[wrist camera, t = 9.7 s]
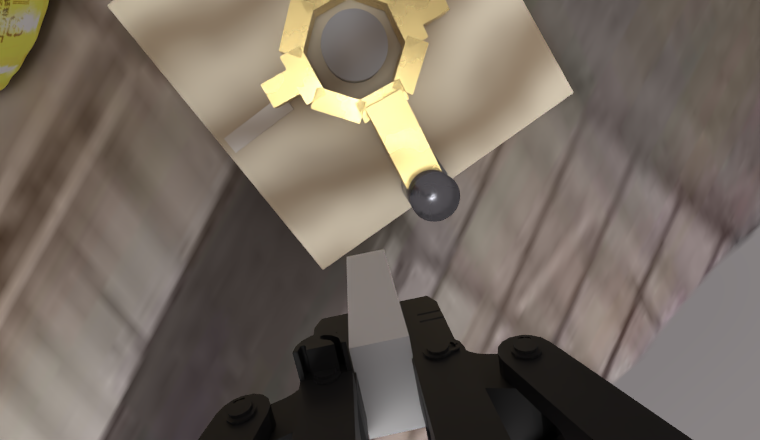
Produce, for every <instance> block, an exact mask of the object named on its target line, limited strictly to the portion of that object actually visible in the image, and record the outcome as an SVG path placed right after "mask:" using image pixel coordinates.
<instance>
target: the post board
mask: <svg viewBox="0 0 760 440" xmlns="http://www.w3.org/2000/svg"><path fill="white" fill-rule="evenodd" d="M446 2H447V4H448V7H449V9H450V10H449V11H448V12H447V13H446V14H445V15H443V16H442V17H440V18H438V19H436V20H435V21H433V22H431V23H429V24H427V25H426V26H424V28H425V30H426V33H427V35H428V38H427V39H426V40H425V42H428V43H429V44H428V47H427V51H426V54H425V57H424V60H423V64H422V67H421V70H420V73H419V77H418V80H417V83H416V86H415V89H414V93H413V95H408V97H409V99H408V100H407V102H408V104H409V106H410V108H411V110H412V112H413V114H414V116H415V118H416V120H417V122H418V124H419V126H420V128H421V130H422V132H423V134H424V136H425V138H426V140H427V142H428V144H429V146H430V148H431V150H432V152H433V154H434V156H435V158H436V160H437V162H438V164H439V166H440V168H441V171H442V172H444V173H445V174H447V175H448V176H450V177H451V178H454V177H455V176H456V175H458V174H459V173H461V172H462V171H464V170H465V169H466V168H468V167H469V166H471V165H472V164H473V163H475V162H476V161H478V160H479V159H480V158H482V157H483V156H485V155H486V154H488V153H489V152H490V151H492V150H493V149H495V148H496V147H497V146H499V145H500V144H502V143H503V142H505V141H506V140H507V139H509V138H510V137H512V136H513V135H514V134H516V133H517V132H519V131H520V130H522V129H523V128H524V127H526V126H527V125H529V124H530V123H531V122H533V121H534V120H536V119H537V118H539V117H540V116H541V115H543V114H544V113H546V112H547V111H548V110H550V109H551V108H553V107H554V106H555V105H557V104H558V103H560V102H561V101H563V100H564V99H565V98H567V97H568V96H570V95H571V94H572V93H574V92H573V91H572V89H571V87H570V85H569V83H568V82H567V80H566V78H565V76H564V74H563V72H562V71H561V69H560V67H559V65H558V63H557V62H556V60H555V58H554V56H553V54H552V52H551V51H550V49H549V47H548V45H547V43H546V42H545V40H544V38H543V36H542V34H541V33H540V31H539V29H538V27H537V25H536V23H535V22H534V20H533V18H532V16H531V14H530V13H529V11H528V9H527V7H526V5H525V3H524V2H523V0H446ZM289 5H290V0H113V1H112V2H111V3H110V4H108V5H107V6H108V7H109V9H110V10H111V11H112V12H113V14H114V15H115V16H116V17H117V18H118V20H119V21H120V22H121V23H122V25H123V26H124V27H125V28H126V29H127V31H128V32H129V33H130V34H131V36H132V37H133V38H134V39H135V40H136V42H137V43H138V44H139V45H140V47H141V48H142V49H143V50H144V51H145V53H146V54H147V55H148V56H149V58H150V59H151V60H152V61H153V62H154V64H155V65H156V66H157V67H158V69H159V70H160V71H161V72H162V73H163V75H164V76H165V77H166V78H167V80H168V81H169V82H170V83H171V84H172V86H173V87H174V88H175V89H176V91H177V92H178V93H179V94H180V96H181V97H182V98H183V99H184V100H185V102H186V103H187V104H188V105H189V107H190V108H191V109H192V110H193V111H194V113H195V114H196V115H197V116H198V118H199V119H200V120H201V121H202V122H203V124H204V125H205V126H206V127H207V129H208V130H209V131H210V132H211V133H212V135H213V136H214V137H215V138H216V140H217V141H218V142H219V143H220V144H221V146H222V147H223V148H224V149H225V151H226V152H227V153H228V154H229V155H230V157H231V158H232V159H233V160H234V162H235V163H236V164H237V165H238V166H239V168H240V169H241V170H242V171H243V173H244V174H245V175H246V176H247V177H248V179H249V180H250V181H251V182H252V184H253V185H254V186H255V187H256V189H257V190H258V191H259V192H260V193H261V195H262V196H263V197H264V198H265V200H266V201H267V202H268V203H269V204H270V206H271V207H272V208H273V209H274V211H275V212H276V213H277V214H278V215H279V217H280V218H281V219H282V220H283V222H284V223H285V224H286V225H287V226H288V228H289V229H290V230H291V231H292V233H293V234H294V235H295V236H296V237H297V239H298V240H299V241H300V242H301V244H302V245H303V246H304V247H305V248H306V250H307V251H308V252H309V253H310V255H311V256H312V257H313V258H314V259H315V261H316V262H317V263H318V264H319V266H320V267H321V268H322V269H325V268H326V267H328V266H329V265H331V264H332V263H333V262H335V261H336V260H338V259H339V258H340V257H342V256H343V255H345V254H346V253H348V252H349V251H350V250H352V249H353V248H355V247H356V246H357V245H359V244H360V243H362V242H363V241H364V240H366V239H367V238H369V237H370V236H372V235H373V234H374V233H376V232H377V231H379V230H380V229H381V228H383V227H384V226H386V225H387V224H389V223H390V222H391V221H393V220H394V219H396V218H397V217H398V216H400V215H401V214H403V213H404V212H406V211H407V210H408V209H410V208H411V207H412V206H411V205H410V203H409V202H408V200H407V198H406V197H405V195H404V194H403V192H402V188H401V179H400V177H399V175H398V173H397V171H396V169H395V168H394V166H393V164H392V162H391V160H390V158H389V156H388V154H387V152H386V150H385V148H384V147H383V145H382V143H381V141H380V139H379V137H378V135H377V133H376V131H375V129H374V128H373V126H372V124H371V122H370V121H368V122H366V123H364V121H363V119H362V118H361V121H360V124H359V123H356V122H353V121H349V120H346V119H343V118H340V117H336V116H333V115H330V114H327V113H323V112H320V111H317V110H314V109H311V106H312V104H311V105H306V103H305V101H304V99H303V98H302V96H299V97H297V98H295V99H294V100H292V101H290V102H288V103H287V104H285V105H283V106H281V107H279V108H274V107H273V105H272V104H271V102H270V100H269V98H268V97H267V95H266V93H265V92H264V90H263V88H262V86H261V85H260V84H262V83H264V82H266V81H267V80H269V79H271V78H273V77H275V76H276V75H278V74H280V73H282V72H283V71H285V70H287V69H286V67H285V66H284V64H283V62H282V60H281V58H280V56H282V55H283V54H282V53H281V52H279V47H280V43H281V39H282V34H283V30H284V26H285V22H286V17H287V13H288V9H289ZM400 51H401V44H400V42H399V40H398V38H397V36H396V34H395V32H394V30H393V28H392V26H391V24H390V22H389V19H388V17H387V15H386V13H385V11H383V10H380V9H377V8H374V7H371V6H368V5H366V4H363V3H360V2H357V1H354V0H345V1H344V2H342V3H340V4H339V5H337V6H335V7H333V8H332V9H330V10H328V11H326V12H325V13H323V14H321V15H319V16H318V17H316V18H315V22H314V26H313V30H312V34H311V38H310V42H309V46H308V50H307V54H306V56H307V58H308V60H309V62H310V63H311V65H312V67H313V69H314V71H315V73H316V74H317V76H318V78H319V80H320V82H321V84H322V85H323V87H324V89H327V90H330V91H333V92H336V93H339V94H342V95H346V96H349V97H352V98H355V99H358V100H361V99H363V98H365V97H366V96H368V95H370V94H372V93H374V92H375V91H377V90H379V89H381V88H383V87H384V86H386V85H388V84H390V83H391V81H392V78H393V74H394V71H395V67H396V64H397V61H398V57H399V54H400Z"/></svg>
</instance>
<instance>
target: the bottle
mask: <svg viewBox="0 0 760 440" xmlns="http://www.w3.org/2000/svg"><path fill="white" fill-rule="evenodd" d="M48 3H49V0H0V90H2V89H4V88H5V87H6V86H7V85H8V83H9V81H10V79H11V77H12V76H13V75H14V74H15V73H16V72H17V71H18V70H19V69H20V67H21V65H22V63H23V61H24V59H25V58H26V56H27V54H28V53H29V51H30V50H31V48H32V47H33V45H34V43H35V41H36V39H37V37H38V34H39V31H40V27H41V25H42V22H43V19H44V16H45V13H46V10H47V7H48Z"/></svg>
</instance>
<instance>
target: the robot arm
mask: <svg viewBox="0 0 760 440" xmlns="http://www.w3.org/2000/svg"><path fill="white" fill-rule="evenodd" d="M347 294H348V314H343V315H339V316H334V317H329V318H324V319H322V320H321V321H320V322H319V323H318V325H317V326H316V327H315V330H314V335H313V336H310V337H309V338H307V339H305V340H303V341H301V342H300V343H299V344H298V345H297V346H296V347H295V349H294V351H293V357H294V360H295V364H296V368H297V371H298V375H299V378H300V387H299V390H298V391H296V392H295V393H294V394H292V395H290V396H288V397H287V398H285V399H282V400H280V401H278V402H276V403H273V404H271V405H270V402H269V399H268V398H267V397H265V396H264V395H261V394H250V395H245V396H241V397H239V398H236V399H234V400H233V401H231V402H230V403H228V404H227V405H225V406H224V407H223V408H222V409H221V410H220V411H219V412H218V413H217V414H216V415H215V417H214V418H213V419H212V421H211V422H210V424H209V425H208V427H207V428H206V429H205V431H204V432H203V434H202V435H201V437H200V438H199V439H198V440H369V439H368V433H369V437H370V439H373V438H378V437H382V436H387V435H391V434H396V433H401V432H405V431H410V430H414V429H419V428H423V427H426V431H427V436H428V440H692V439H691V438H689V437H688V436H687V435H685V434H683V433H682V432H681V431H679V430H678V429H676V428H675V427H673V426H672V425H670V424H669V423H667V422H666V421H665V420H663V419H662V418H660V417H659V416H657V415H656V414H654V413H653V412H651V411H650V410H649V409H647V408H646V407H644V406H643V405H641V404H640V403H638V402H637V401H635V400H634V399H632V398H631V397H630V396H628V395H627V394H625V393H624V392H622V391H621V390H619V389H618V388H617V387H615V386H614V385H612V384H611V383H609V382H608V381H606V380H605V379H603V378H602V377H601V376H599V375H598V374H596V373H595V372H593V371H592V370H590V369H589V368H587V367H586V366H584V365H583V364H582V363H580V362H579V361H577V360H576V359H574V358H573V357H571V356H570V355H568V354H567V353H566V352H564V351H563V350H561V349H560V348H558V347H557V346H555V345H554V344H552V343H551V342H549V341H547V340H545V339H543V338H541V337H537V336H532V335H519V336H515V337H511V338H508V339H506V340H505V341H503V342H502V343H501V344H500V345H499V347H498V354H477V353H473V352H469V351H467V350H466V349H465V347H464V346H463V345H462V344H461V342H460V341H458V340H455V339H454V337H453V335H452V333H451V331H450V329H449V327H448V324H447V322H446V320H445V318H444V316H443V314H442V312H441V310H440V308H439V306H438V304H437V302H436V301H435V300H433V299H431V298H430V297H428V296H424V297H419V298H415V299H410V300H405V301H400V302H399V299H398V296H397V292H396V289H395V286H394V282H393V279H392V275H391V272H390V268H389V265H388V261H387V258H386V254H385V251H384V249H383V250H378V251H373V252H368V253H363V254H358V255H353V256H348V257H347Z"/></svg>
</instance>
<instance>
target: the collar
mask: <svg viewBox="0 0 760 440" xmlns="http://www.w3.org/2000/svg"><path fill="white" fill-rule="evenodd" d="M344 1H345V0H290V5H289V9H288V13H287V17H286V22H285V26H284V30H283V34H282V39H281V43H280V47H279V52H281V53H282V54H283V55H282V56H280V58H281V60H282V62H283V64H284V66H285V67H286V69H287V70H285V71H283V72H282V73H280V74H278V75H276V76H275V77H273V78H271V79H269V80H267V81H266V82H264V83H262V84H260V85H261V86H262V88H263V90H264V92H265V93H266V95H267V97H268V98H269V100H270V102H271V104H272V105H273V107H274V108H279V107H281V106H283V105H285V104H287V103H288V102H290V101H292V100H294V99H295V98H297V97H299V96H302V98H303V99H304V101H305V103H306V105H311V104H312V106H311V109H314V110H317V111H320V112H323V113H327V114H330V115H333V116H336V117H340V118H343V119H346V120H349V121H353V122H356V123H359V124H360V121H361V118H362V119H363V121H364V123H366V122H368V121H370V122H371V124H372V126H373V128H374V129H375V131H376V133H377V135H378V137H379V139H380V141H381V143H382V145H383V147H384V148H385V150H386V152H387V154H388V156H389V158H390V160H391V162H392V164H393V166H394V168H395V169H396V171H397V173H398V175H399V177H400V179H401V188H402V192H403V194H404V195H405V197H406V198H407V200H408V202H409V203H410V205H411V206H412V208H413V210H414V211H415V212H416V214H417V215H418V216H419V217H421V218H423V219H424V220H427V221H441V220H444V219H446V218H448V217H449V216H451V215H452V214H453V213H454V211H455V210H456V208H457V207H458V204H459V200H460V191H459V188H458V185H457V184H456V182H455V181H454V180H453V179H452V178H451V177H450V176H448V175H447V174H445V173H444V172H442V171H441V168H440V166H439V164H438V162H437V160H436V158H435V156H434V154H433V152H432V150H431V148H430V146H429V144H428V142H427V140H426V138H425V136H424V134H423V132H422V130H421V128H420V126H419V124H418V122H417V120H416V118H415V116H414V114H413V112H412V110H411V108H410V106H409V104H408V102H407V100H408V99H409V97H408V95H413V93H414V89H415V86H416V83H417V80H418V77H419V73H420V70H421V67H422V64H423V60H424V57H425V54H426V51H427V47H428V44H429V43H428V42H425V40H426V39H427V38H428V35H427V33H426V30H425V28H424V26H426V25H427V24H429V23H431V22H433V21H435V20H436V19H438V18H440V17H442V16H443V15H445V14H446V13H447V12H448V11H449V10H450V9H449V7H448V4H447V2H446V0H354V1H357V2H360V3H363V4H366V5H368V6H371V7H374V8H377V9H380V10H383V11H385V13H386V15H387V17H388V19H389V22H390V24H391V26H392V28H393V30H394V32H395V34H396V36H397V38H398V40H399V42H400V44H401V51H400V54H399V57H398V61H397V64H396V67H395V71H394V74H393V78H392V81H391V83H390V84H388V85H386V86H384V87H383V88H381V89H379V90H377V91H375V92H374V93H372V94H370V95H368V96H366V97H365V98H363V99H361V100H358V99H355V98H352V97H349V96H346V95H342V94H339V93H336V92H333V91H330V90H327V89H324V87H323V85H322V84H321V82H320V80H319V78H318V76H317V74H316V73H315V71H314V69H313V67H312V65H311V63H310V62H309V60H308V58H307V56H306V54H307V50H308V46H309V42H310V38H311V34H312V30H313V26H314V22H315V18H316V17H318V16H319V15H321V14H323V13H325V12H326V11H328V10H330V9H332V8H333V7H335V6H337V5H339V4H340V3H342V2H344Z"/></svg>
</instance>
